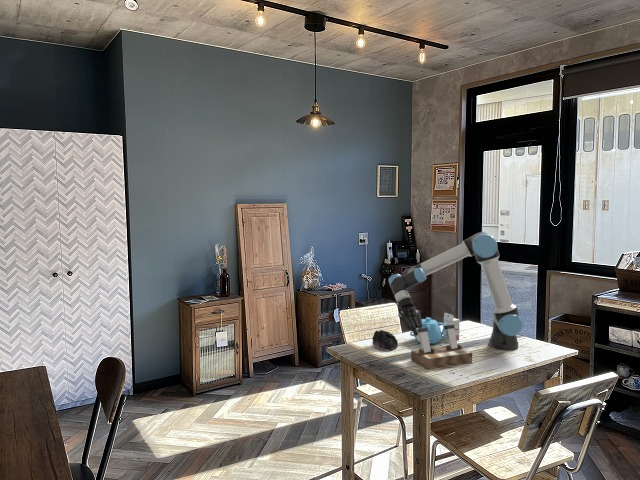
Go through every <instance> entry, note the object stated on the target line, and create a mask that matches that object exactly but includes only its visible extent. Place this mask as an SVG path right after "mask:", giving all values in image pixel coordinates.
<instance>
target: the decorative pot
mask: <svg viewBox="0 0 640 480" xmlns="http://www.w3.org/2000/svg"><path fill="white" fill-rule="evenodd" d="M421 319H422V325H423V326H422V327H421V328H427V329H428V332H427V333H428V338H429V343H430V344H431V345H437V344H438V343H439V342H440V341H441V339H446V338H445V337H446V335H445V334H444V330H445V328H444V326H445V325H444V322H438V321H437V320H435V319H432V317H428V316H427V317H425V319H424V318H421ZM440 325H441V326H442V329H441V327H440ZM421 328H420V329H421ZM409 335H410V336H411V337H414V339H415V340H416V341H417V342H418V343H420V342H419V341H418V339H417V337H416V336H415V335H414V332H413V331H410V332H409ZM443 335H444V336H443Z"/></svg>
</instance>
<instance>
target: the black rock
mask: <svg viewBox="0 0 640 480" xmlns="http://www.w3.org/2000/svg"><path fill="white" fill-rule="evenodd" d="M372 347H373V349H375V350H377V351H378V350H379V351H384V352H389V351H391V350H395V349H398V347H399V342H398V339H397V338H396V336H395V335H394V334H393V333H391V332H389V331H386V330H383V329H380V330H376V331H375V332H374V333H373V336H372Z"/></svg>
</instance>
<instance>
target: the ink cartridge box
mask: <svg viewBox="0 0 640 480" xmlns="http://www.w3.org/2000/svg"><path fill="white" fill-rule="evenodd" d="M460 321H461V320H460V319H458V318H456V317H455V316H454V314H451V313H447V312H444V314H443V324H444V325H445V326H447V325H454V327H455V328H454V331H455V335H456V340H457V341H459V340H460ZM443 333H444V334H445V335H446V337H445V338H444V339H447V334H446V330H444V332H443ZM442 336H444V335H442Z"/></svg>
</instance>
